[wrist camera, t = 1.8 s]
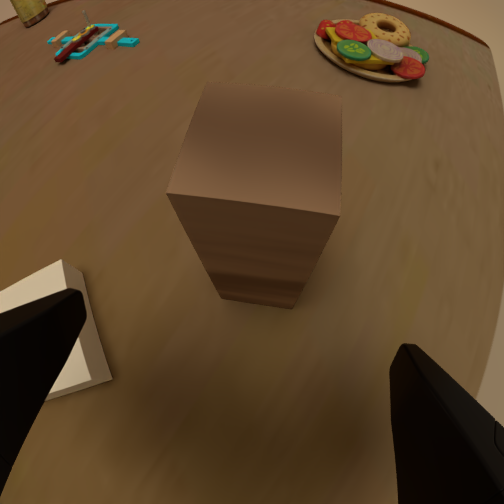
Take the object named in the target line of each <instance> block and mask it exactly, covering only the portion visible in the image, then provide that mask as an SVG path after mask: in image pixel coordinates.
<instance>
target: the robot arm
mask: <svg viewBox="0 0 504 504" xmlns="http://www.w3.org/2000/svg"><path fill="white" fill-rule="evenodd" d="M86 319H87V311H86V307H85V302H84V297H83V294H82V292H81V291H80V290H77V289H73V288H67V289H64V290H61V291H59V292H56V293H53V294H50V295H48V296H45V297H42V298H40V299H37V300H34V301H31V302H29V303H26V304H23V305H21V306H18V307H15V308H13V309H10V310H7V311H5V312H2V313H0V496H1V493H2V491H3V488H4V486H5V484H6V481H7V479H8V476H9V474H10V472H11V469H12V467H13V465H14V462H15V460H16V458H17V456H18V454H19V451H20V449H21V447H22V445H23V443H24V441H25V439H26V437H27V435H28V433H29V431H30V429H31V427H32V425H33V423H34V421H35V419H36V417H37V415H38V413H39V411H40V409H41V407H42V405H43V403H44V401H45V400H46V398H47V396H48V394H49V392H50V390H51V389H52V387H53V385H54V383H55V381H56V380H57V378H58V376H59V374H60V372H61V371H62V369H63V367H64V365H65V364H66V362H67V360H68V358H69V356H70V354H71V352H72V349H73V347H74V345H75V343H76V341H77V339H78V336H79V334H80V332H81V330H82V328H83V326H84V324H85V322H86ZM389 375H390V402H391V425H392V434H393V442H394V452H395V462H396V474H397V488H398V504H504V427H503V426H501V424H500V423H499V422H497V421H495V418H493V416H491V415H490V413H488V412H487V411H486V410H485V409H484V408H483V407H482V406H481V405H480V404H479V403H478V402H477V401H476V400H475V399H474V398H473V397H472V396H471V395H470V394H469V393H468V392H467V391H466V390H465V389H464V388H462V387H461V386H460V385H459V384H458V383H457V382H456V381H455V380H454V379H453V378H452V377H451V376H450V375H449V374H448V373H447V372H445V371H444V370H443V369H442V368H441V367H440V366H439V365H438V364H437V363H436V362H435V361H434V360H433V359H431V358H430V357H429V356H428V355H427V354H426V353H425V352H424V351H423V350H422V349H421V348H419V347H418V346H417V345H416V344H407V343H404V344H402V345H401V346H400V347H399V349H398V351H397V353H396V355H395V358H394V360H393V362H392V364H391V366H390V372H389Z"/></svg>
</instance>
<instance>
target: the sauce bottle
mask: <svg viewBox="0 0 504 504" xmlns="http://www.w3.org/2000/svg"><path fill="white" fill-rule="evenodd" d="M10 1H11V3H12V5H13V7H14V9H15V10H16V12H17V14H18V16H19V18H20V20H21V22H22V23H23V24H24V26H25V27H30V26H32V25H34V24H36V23H37V22H39V21H40V20H41V19H43V18H44V17H45V16H46V15H47V14H48V8H47V5H46V2H45V0H10Z"/></svg>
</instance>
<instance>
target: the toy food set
mask: <svg viewBox="0 0 504 504" xmlns="http://www.w3.org/2000/svg"><path fill="white" fill-rule="evenodd" d="M388 29H389V30H388ZM410 38H411V34H410V31H409V29H408V28H407V26H406V25H405V24H404V23H403V22H401V21H400V20H398V19H397V18H395V17H393V16H390V15H387V14H382V13H370V14H367V15H365V16H363V17H362V18H361V19H360V21H357V20H333V21H330V20H323V21H321V23H320V24H319V26H318V28H317V29H316V31H315V34H314V39H315V42H316V45H317V46H318V48H319V49H320V50H321V52H322V53H323V54H324V55H325V56H326V57H328V58H329V59H330V60H331V61H332V62H334V63H335V64H337V65H338V66H340V67H341V68H343V69H345V70H347V71H349V72H351V73H353V74H356V75H358V76H361V77H364V78H368V79H371V80H375V81H381V82H403V81H409V80H412V79H418V78H421V77H423V76H424V74H425V67H424V66H423V64H424V63H426V62H428V60H429V55H428V53H427V52H426V51H424V50H423V49H421V48H418V47H413V46H412V45H411V44H410V43H409V42H410Z"/></svg>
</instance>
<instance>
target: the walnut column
mask: <svg viewBox="0 0 504 504" xmlns="http://www.w3.org/2000/svg"><path fill="white" fill-rule="evenodd" d="M341 181H342V96H336V95H331V94H325V93H319V92H312V91H306V90H298V89H291V88H283V87H274V86H264V85H252V84H239V83H221V82H207V83H206V85H205V87H204V90H203V92H202V95H201V97H200V100H199V102H198V105H197V107H196V110H195V112H194V115H193V117H192V120H191V123H190V125H189V128H188V131H187V133H186V136H185V139H184V142H183V144H182V147H181V150H180V153H179V156H178V158H177V161H176V164H175V167H174V170H173V173H172V176H171V179H170V182H169V185H168V188H167V191H166V194H167V196H168V198H169V200H170V202H171V204H172V206H173V208H174V210H175V212H176V214H177V216H178V218H179V220H180V222H181V224H182V226H183V227H184V229H185V231H186V233H187V235H188V237H189V239H190V241H191V243H192V245H193V247H194V249H195V251H196V252H197V254H198V256H199V258H200V260H201V262H202V264H203V266H204V268H205V269H206V271H207V273H208V275H209V277H210V279H211V281H212V282H213V284H214V286H215V288H216V290H217V292H218V293H219V295H220V297H221V298H222V299H228V300H234V301H240V302H246V303H253V304H259V305H266V306H273V307H279V308H286V309H292V308H293V306H294V304H295V302H296V300H297V299H298V297H299V295H300V293H301V291H302V289H303V287H304V286H305V284H306V282H307V280H308V278H309V276H310V274H311V272H312V270H313V269H314V267H315V265H316V263H317V261H318V259H319V257H320V255H321V253H322V251H323V249H324V247H325V245H326V243H327V241H328V239H329V237H330V235H331V233H332V231H333V229H334V227H335V225H336V223H337V221H338V219H339V217H340V208H341Z"/></svg>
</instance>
